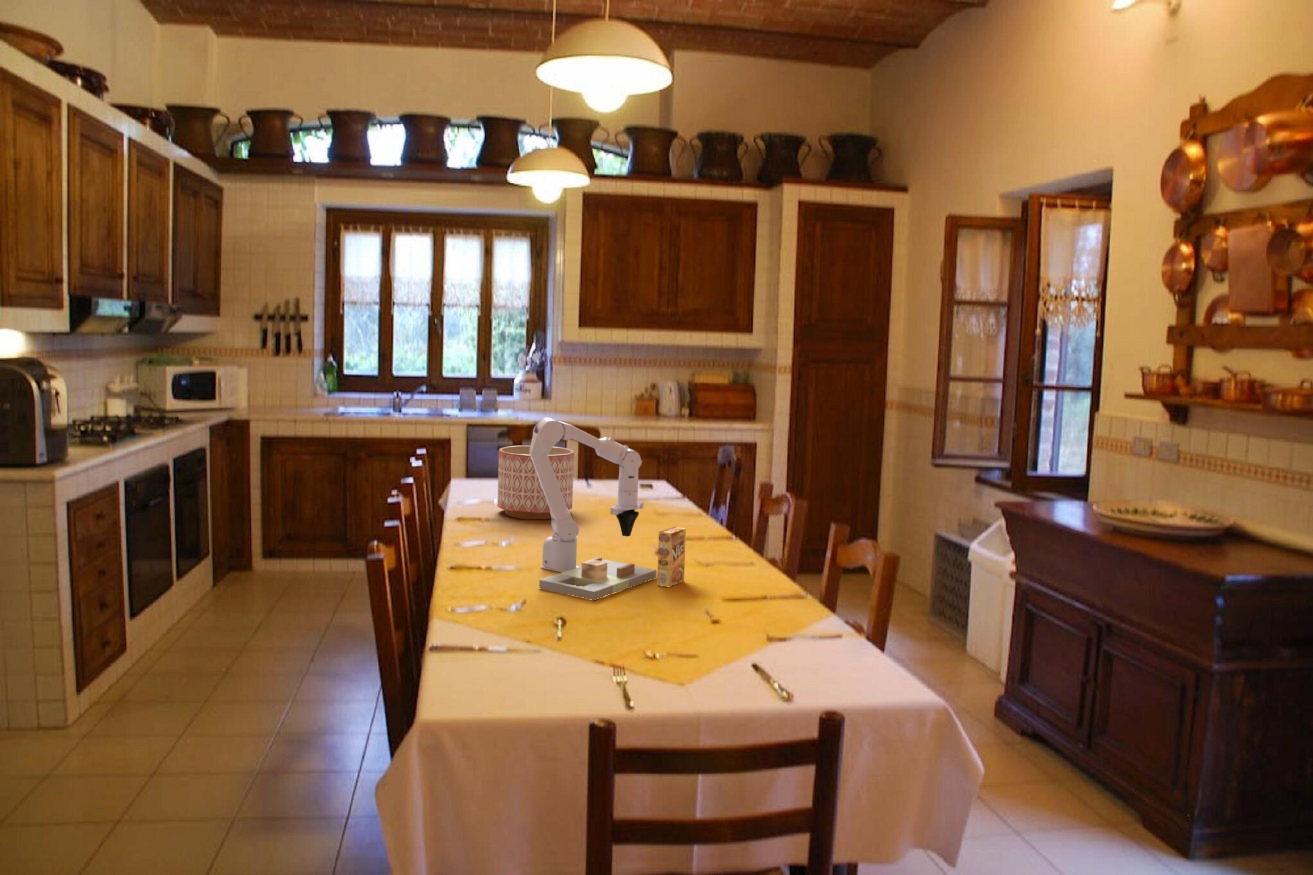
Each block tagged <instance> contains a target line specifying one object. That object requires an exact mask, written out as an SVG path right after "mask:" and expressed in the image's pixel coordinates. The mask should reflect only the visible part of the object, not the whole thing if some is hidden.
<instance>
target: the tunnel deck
mask: <svg viewBox="0 0 1313 875" xmlns="http://www.w3.org/2000/svg"><path fill="white" fill-rule="evenodd" d="M592 559H593V560H598V561H603V562H608V563H607V577H604V578H601V579H598V580H593V579H588V578H583V577H581V572H582V566H581V567H579V568H576V569H572V570H569V571H566V572H563V573H562V572H558V573H556V574H553V575H550V576H547V577H544V578H541V579H539V585H538V587H539V588H541V589H540V590H542V589H544V590H543V591H547V590H550V591H549V592H551V591H552V593H555V592H558V593H557V594H560V593H562V594H561V595H564V594H569V595H574V596H578V597H584V598H587V599H592V600H595V599H597V598H600V597H603V596H605V595H608V594H612V593H614V592H618V591H620V590H623V591H625V590H624V589H626V588H629V587H631V586H634V585H637V586H639V585H638V584H640V583H642V584H644V583H643V582H645V581H648V580H650V579H653V580H655V579H654V578H656V579H657V569H654V568H648V567H643V566H638V565H636V564H635V563H623V562H620V561H619V562H617V561H614V560H613V561H612V560H608V559H603V558H602V557H600V556H597V557H593V558H591V559H588V560H584V561H583V562H586V561H589V560H592ZM648 582H649V581H648ZM645 583H646V582H645ZM574 585H576V586H574ZM640 585H641V584H640ZM579 586H583V587H579ZM634 587H635V586H634ZM539 588H538V589H539ZM631 588H632V587H631ZM629 589H630V588H629ZM626 590H627V589H626ZM620 592H621V591H620ZM618 593H619V592H618ZM569 595H568V596H569ZM612 595H613V594H612Z"/></svg>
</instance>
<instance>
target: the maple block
mask: <svg viewBox="0 0 1313 875" xmlns="http://www.w3.org/2000/svg"><path fill="white" fill-rule="evenodd" d="M591 559H592V560H590V559H588V560H589V561H587V560H585V561H586V562H584V561H583V562H581V567H582V572H581V577H583V578H588V579H593V580H598V579H601V578H604V577H607V563H608V562H603V561H598V560H593V559H594V558H591Z"/></svg>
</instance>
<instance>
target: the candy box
mask: <svg viewBox="0 0 1313 875" xmlns="http://www.w3.org/2000/svg"><path fill="white" fill-rule="evenodd" d="M686 531H687V528H686V527H678V526H672V527H670V528H667V529H664V530H661V531H658V542H657V543H658V546H657V548H658V550H657V573H656V582H657V583H656V585H663V586H671V587H673V586H672V585H674V586H676V585H677V584H676V583H679V584H681V583H682V582H681V581H684V582H685V564H686V561H685V560H686V559H685V558H686V534H687V532H686ZM680 582H681V583H680ZM675 584H676V585H675ZM663 586H662V587H663Z"/></svg>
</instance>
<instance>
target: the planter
mask: <svg viewBox="0 0 1313 875" xmlns="http://www.w3.org/2000/svg"><path fill="white" fill-rule="evenodd" d="M530 446H531V444H529V445H511V446H505V447H500V448H499V449H498V470H497V472H498V476H497V477H498V478H497V480H498V482H497V507H498V508H499V509H501V510H504V513H505V515H506V516H508V515H509V517H511V518H516V519H522V520H523V519H524V520H549V519H550V520H552V517H551V514H550V508H549V505H548V503H547V500H546V497H545V494H544V492H543V489H542V486H541V483H540V481H539V478H538V475H537V473H536V470H535V467H534V464H533V462H532V459H531V456H530ZM548 457H549V459H550V462H551V465H552V468H553V470H554V473H555V476H556V479H557V481H558V484H559V487H560V490H561V492H562V495H563V498H564V501H565V504H566V506H567V508H568V510H569V511H570V510H572V508H573V497H574V496H573V495H574V490H573V489H574V464H575V451H574V450H572V449H571V448H567V447H560V446H553V447H552V449H551V451H550V453H549V454H548Z"/></svg>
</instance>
